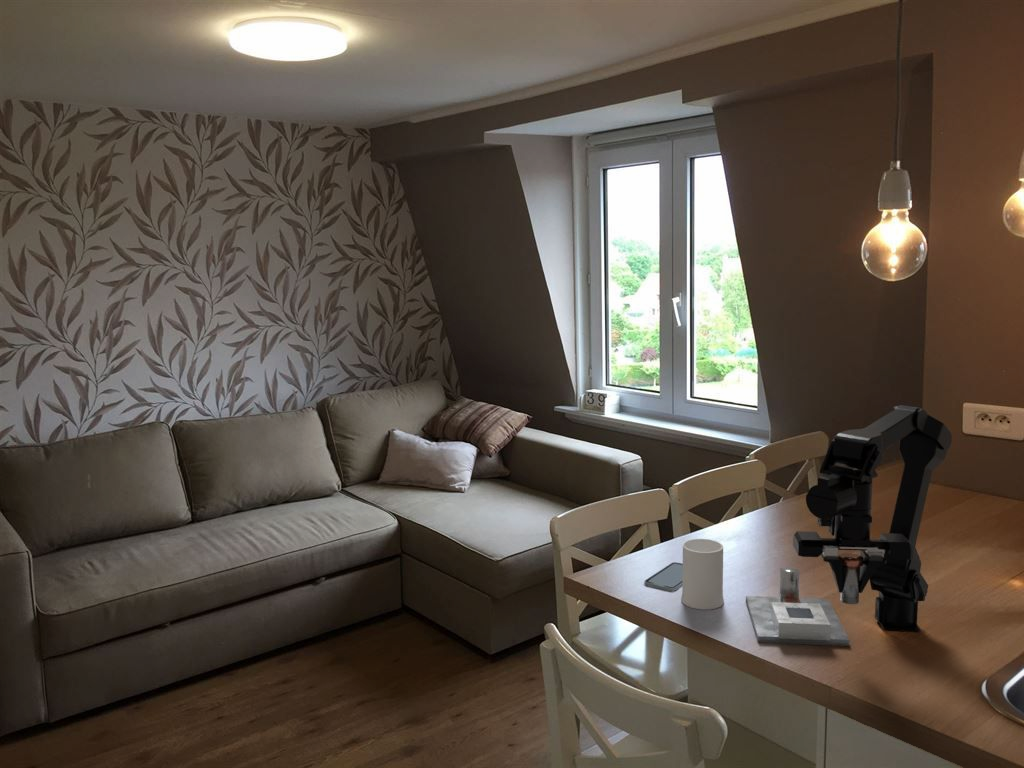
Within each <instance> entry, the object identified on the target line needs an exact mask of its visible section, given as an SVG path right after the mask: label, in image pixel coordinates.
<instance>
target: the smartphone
mask: <svg viewBox="0 0 1024 768" xmlns="http://www.w3.org/2000/svg"><path fill="white" fill-rule="evenodd" d="M643 582H644V585H645V586H647V587H651V588H656V589H660V590H663V591H668V592H676V591H677V590H679V589H680V588H681V587H682V585H683V562H681V563H680V562H676V561H674V562H671V563H669V564H668V565H666V566H665V567H663V568H662V569H660V570H659V571H657V572H656V573H653V574H652V575H650V576H649V577H648V578H646V579H645V580H644V581H643Z"/></svg>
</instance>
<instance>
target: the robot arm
mask: <svg viewBox="0 0 1024 768" xmlns="http://www.w3.org/2000/svg"><path fill="white" fill-rule="evenodd" d="M952 441H953V436H952V433H951V431H950V429H949V428H948V427H947V426H946V425H945V423H943V422H942V421H940V420H938V419H937V418H935V417H933V416H931V415H929V414H928V412H927V411H926V410H925V409H922V408H921V407H916V406H910V405H902V404H900V405H897V406H894V407H893V408H892V409H891V411H890V412H889V413H887V414H885V415H884V416H882V417H880V418H879V419H877V420H876V421H874V422H872V423H870V424H869V425H867V426H865V427H864V428H858V429H848V430H844V431H841V432H838V433H837V434H836V435H835V436H834V438H833V439H832V441H831V442H830V444H829V446H828V449H827V451H826V454H825V456H824V459H823V462H822V464H821V467H820V469H819V474H821V475H825V476H820V477H817V484H816V485H812V486H811V487H810V488H809V489H808V491H807V494H806V495H805V503H806V506H807V508H808V510H809V512H810V513H811V514H812V515H813V516H814V517H816V518H817V525H818V527H819V528H820V527H823V528H824V527H825V528H827V527H828V532H829V534H830V535H831V536H834V538H832V537H831V538H829V537H826V538H825V537H823V538H821V536H820V534H819V533H818V531H805V530H804V531H803V530H801V531H796V532H795V533H794V534H793V537H792V547H793V548H794V550H795V552H796V554H797V555H798V556H799V557H802V558H819V557H821V559H822V560H823V562H826V563H829V566H830V569H831V572H832V575H833V576H832V577H833V579H834V581H835V586H836V588H837V591H838V593H841V592H842V586H843V583H842V559H841V558H840V556H839V555H840V554H839V553H840V551H860V553H859V555H860V556H862V557H863V558H864V561H863V565H862V566H860V582H859V594H862V593H863V591H864V590H865V588H866V586H867V584H868V582H869V584H870V589H871V590H872V591H877V592H878V596H876V597H875V601H874V602H875V606H874V607H875V608H874V618H875V619H876V621H877V622H878V623H879V625H880V626H881V627H882V629H883V630H884V631H903V632H919V631H921V628H920V626H919V625H918V611H919V602H924V601H926V597H927V594H928V591H929V584H928V583H927V580H926V579H925V577H924V576H923V575H922V574H921V567H922V560H921V558H920V556H919V551H918V550H917V547H916V545H917V539H918V536H919V530H920V526H921V523H922V517H923V512H924V509H925V504H926V500H927V495H928V492H929V486H930V481H931V478H932V473H933V472H934V470H935V469H936V468H937V467H938V466H939V465H941V463H943V461H945V459H946V456H947V454H948V452H947V451H948V450H949V448H950V447H951V445H952ZM897 442H899V443H898V452H899V454H900V456H901V459H902V462H903V470H902V475H901V479H900V482H899V488H898V491H897V494H896V495H897V496H896V501H895V505H894V510H893V513H892V518H891V523H890V526H889V531H888V533H887V532H885V533H883V532H881V534H880V535H879V539H871V523H872V524H873V516H872V495H873V479H876V478H877V477H878V472H877V470H876V469H877V468H878V465H879V464H880V463H881V462H883V461H884V452H885V451H886V450H887V449H889V448H890V447H892V446H893V445H894V444H895V443H897Z"/></svg>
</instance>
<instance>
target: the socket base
mask: <svg viewBox="0 0 1024 768" xmlns="http://www.w3.org/2000/svg"><path fill="white" fill-rule="evenodd" d="M779 570H780V571H779V574H780V575H779V577H780V578H779V596H759V595H758V596H755V595H753V596H752V595H746V596H745V604H746V607H747V610H748V614H749V617H750V620H751V623H752V627H753V630H754V634H755V637H756V640H758V641H757V643H761V642H765V643H766V642H767V643H768V642H769V643H768V644H786V643H788V644H789V643H791V644H792V645H813V646H814V645H816V646H817V645H818V646H819V645H820V646H840V647H842V646H843V647H849V646H850V637H849V636H848V634H847V633H846V631H845V629H844V627H843V625H842V623H841V621H840V619H839V618H838V615H837V614H836V612H835V610H834V608H833V606H832V605H831V603H830V600H829V598H822V597H821V598H818V597H817V598H816V597H815V598H814V597H800V569H799V568H797V567H794V566H782V567H781V568H780V569H779Z"/></svg>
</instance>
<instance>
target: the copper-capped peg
mask: <svg viewBox="0 0 1024 768" xmlns="http://www.w3.org/2000/svg"><path fill="white" fill-rule="evenodd" d="M838 555H839V556H840V558H841V559H842V583H843V586H842V592H839V594H840V597H839V600H840V602H842V603H844V604H846V605H857V604H859V600H860V593H859V582H860V566H862V565H863V561H864V558H863V557H862V556H861V554H857V553H851V552H845V553H840V554H838Z"/></svg>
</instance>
